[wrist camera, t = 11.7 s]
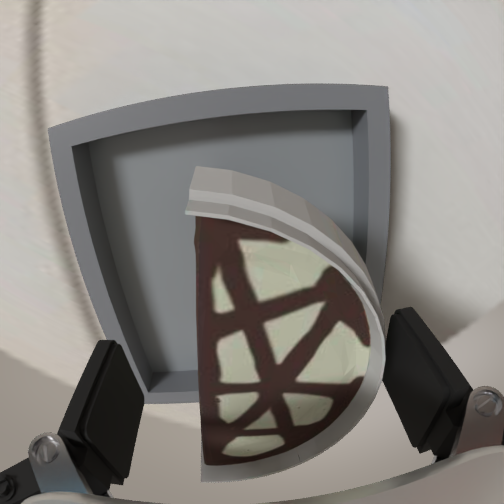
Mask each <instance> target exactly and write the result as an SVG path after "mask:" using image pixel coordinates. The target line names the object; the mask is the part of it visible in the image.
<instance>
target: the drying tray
mask: <svg viewBox="0 0 504 504" xmlns="http://www.w3.org/2000/svg"><path fill="white" fill-rule="evenodd" d="M48 134H49V141H50V147H51V153H52V159H53V164H54V170H55V175H56V180H57V185H58V189H59V194H60V198H61V203H62V207H63V211H64V215H65V219H66V223H67V226H68V230H69V234H70V237H71V241H72V244H73V247H74V251H75V254H76V257H77V261H78V264H79V267H80V270H81V273H82V276H83V279H84V282H85V285H86V287H87V290H88V293H89V296H90V299H91V301H92V304H93V307H94V309H95V312H96V314H97V317H98V319H99V322H100V324H101V327H102V329H103V332H104V334H105V336H106V339H107V340H115V341H116V342H117V344H120V345H121V346H122V348H123V350H124V353H125V355H126V357H127V359H128V362H129V364H130V366H131V368H132V371H133V373H134V375H135V377H136V379H137V381H138V383H139V385H140V388H141V390H142V392H143V394H144V404H169V403H194V402H199V388H198V358H197V327H196V253H195V246H194V236H195V228H196V226H195V217H196V216H194V215H186V214H185V210H186V207H187V204H188V201H189V188H190V185H191V181H192V178H193V174H194V171H195V168H196V166H200V167H209V168H218V169H226V170H233V171H236V172H240V173H243V174H247V175H250V176H253V177H257V178H260V179H263V180H267V181H270V182H272V183H274V184H276V185H278V186H280V187H282V188H284V189H286V190H288V191H290V192H292V193H294V194H296V195H298V196H300V197H302V198H304V199H305V200H307V201H308V202H309V203H311V204H312V205H313V206H315V207H316V208H317V209H319V210H320V211H321V212H323V213H324V214H325V215H327V216H328V217H329V218H330V219H332V221H333V222H334V223H335V224H336V225H337V226H338V227H339V228H340V229H341V230H342V232H343V233H344V234H345V235H346V236H347V237H348V238H349V239H350V240H351V242H352V243H353V245H354V246H355V248H356V250H357V251H358V253H359V255H360V256H361V258H362V260H363V261H364V263H365V265H366V267H367V270H368V272H369V275H370V278H371V280H372V283H373V286H374V289H375V291H376V294H377V297H378V300H379V304H381V297H382V289H383V281H384V272H385V263H386V252H387V240H388V226H389V209H390V178H391V143H390V113H389V96H388V87H387V86H374V85H356V84H281V85H263V86H249V87H238V88H228V89H219V90H211V91H204V92H196V93H190V94H183V95H177V96H172V97H166V98H161V99H155V100H150V101H146V102H141V103H136V104H132V105H127V106H123V107H119V108H115V109H111V110H107V111H103V112H100V113H96V114H92V115H89V116H85V117H82V118H79V119H75V120H72V121H69V122H66V123H63V124H59V125H56V126H54V127H51V128H48Z"/></svg>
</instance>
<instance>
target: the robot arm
mask: <svg viewBox="0 0 504 504" xmlns="http://www.w3.org/2000/svg"><path fill="white" fill-rule="evenodd" d="M385 358H386V360H385V366H384V372H383V378H382V381H383V383H384V385H385V387H386V389H387V391H388V394H389V396H390V398H391V400H392V402H393V404H394V406H395V409H396V411H397V413H398V415H399V417H400V419H401V422H402V424H403V426H404V429H405V431H406V433H407V435H408V438H409V440H410V442H411V444H412V446H413V447H417V449H418V451H419V453H423V452H426V451H428V450H432V452H433V454H434V458H433V461H432V463H431V465H429V466H426V467H423V468H420V469H417V470H414V471H412V472H409V473H406V474H403V475H400V476H396V477H393V478H390V479H387V480H383V481H380V482H376V483H373V484H369V485H366V486H361V487H357V488H354V489H349V490H345V491H340V492H335V493H331V494H325V495H320V496H315V497H309V498H303V499H295V500H288V501H280V502H270V503H260V504H504V397H503V395H502V394H501V393H500V392H499V391H498V390H496V389H495V388H492V387H488V386H482V387H478V388H476V389H474V390H473V389H472V387H471V386H470V385H469V383H468V382H467V380H466V379H465V377H464V376H463V374H462V373H461V372H460V370H459V369H458V367H457V366H456V364H455V363H454V362H453V360H452V359H451V357H450V356H449V354H448V353H447V352H446V350H445V349H444V348H443V346H442V345H441V343H440V342H439V341H438V340H437V339H436V337H435V336H434V335H433V333H432V332H431V331H430V329H429V328H428V327H427V325H426V324H425V323H424V321H423V320H422V319H421V318H420V316H419V315H418V314H417V312H416V311H415V310H414V309H413V308H412V307H408V308H403V309H398V310H396V311H395V314H394V315H392V316H391V318H390V323H389V328H388V334H387V338H386V346H385ZM143 406H144V394H143V392H142V390H141V388H140V385H139V383H138V381H137V379H136V377H135V375H134V373H133V371H132V368H131V366H130V364H129V362H128V359H127V357H126V355H125V353H124V350H123V348H122V346H121V345H120V344H117V342H116V341H115V340H99V341H98V343H97V344H96V347H95V349H94V351H93V353H92V355H91V357H90V359H89V361H88V363H87V365H86V368H85V370H84V372H83V374H82V376H81V378H80V381H79V383H78V385H77V387H76V390H75V392H74V394H73V397H72V399H71V401H70V404H69V406H68V408H67V411H66V413H65V416H64V418H63V421H62V423H61V425H60V428H59V431H58V433H57V434H54V433H51V432H50V433H43V434H40V435H38V436H37V437H36V438H34V440H33V441H32V442H31V444H30V446H29V450H28V455H29V458H27V459H25V460H23V461H21V462H20V463H18V464H16V465H14V466H12V467H10V468H8V469H6V470H4V471H3V472H1V473H0V504H161V503H150V502H141V501H132V500H124V499H117V498H114V497H113V495H112V494H111V492H110V491H109V488H110V484H111V483H112V484H119V485H123V482H124V478H127V477H128V476H129V471H130V466H131V461H132V456H133V452H134V446H135V442H136V437H137V432H138V428H139V424H140V419H141V415H142V411H143Z"/></svg>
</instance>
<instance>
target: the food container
mask: <svg viewBox="0 0 504 504" xmlns="http://www.w3.org/2000/svg"><path fill="white" fill-rule="evenodd" d="M185 214H186V215H194V216H196V217H195V226H196V228H195V236H194V246H195V253H196V327H197V358H198V388H199V403H200V416H201V434H202V437H201V441H202V442H201V482H230V481H231V482H232V481H242V480H247V479H254V478H259V477H263V476H267V475H271V474H274V473H278V472H281V471H284V470H287V469H289V468H292V467H295V466H297V465H300V464H302V463H304V462H306V461H308V460H310V459H312V458H314V457H316V456H318V455H319V454H321V453H323V452H324V451H326V450H327V449H329V448H330V447H332V446H333V445H335V444H336V443H337V442H338V441H340V440H341V439H342V438H343V437H344V436H345V435H346V434H348V433H349V432H350V431H351V430H352V429H353V428H354V427H355V426H356V424H357V423H358V422H359V421H360V420H361V419H362V417H363V416H364V415H365V413H366V412H367V410H368V409H369V407H370V405H371V404H372V402H373V401H374V399H375V397H376V394H377V392H378V389H379V387H380V384H381V381H382V378H383V372H384V366H385V360H386V358H385V346H386V336H385V322H384V317H383V314H382V310H381V307H380V304H379V300H378V297H377V294H376V291H375V289H374V286H373V283H372V280H371V278H370V275H369V272H368V270H367V267H366V265H365V263H364V261H363V260H362V258H361V256H360V255H359V253H358V251H357V250H356V248H355V246H354V245H353V243H352V242H351V240H350V239H349V238H348V237H347V236H346V235H345V234H344V233H343V232H342V230H341V229H340V228H339V227H338V226H337V225H336V224H335V223H334V222H333V221H332V219H330V218H329V217H328V216H327V215H325V214H324V213H323V212H321V211H320V210H319V209H317V208H316V207H315V206H313V205H312V204H311V203H309V202H308V201H307V200H305V199H304V198H302V197H300V196H298V195H296V194H294V193H292V192H290V191H288V190H286V189H284V188H282V187H280V186H278V185H276V184H274V183H272V182H270V181H267V180H263V179H260V178H257V177H253V176H250V175H247V174H243V173H240V172H236V171H233V170H226V169H218V168H209V167H200V166H196V168H195V171H194V174H193V178H192V181H191V185H190V188H189V201H188V204H187V207H186V210H185Z"/></svg>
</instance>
